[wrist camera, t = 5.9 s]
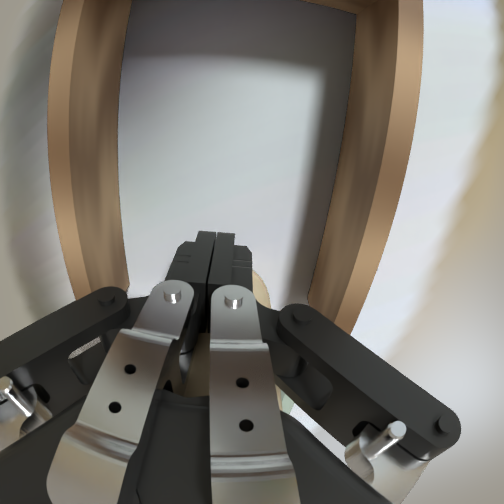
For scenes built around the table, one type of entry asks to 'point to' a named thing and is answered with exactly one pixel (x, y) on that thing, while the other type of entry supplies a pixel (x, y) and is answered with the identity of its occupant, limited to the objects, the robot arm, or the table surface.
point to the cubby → (348, 171)
